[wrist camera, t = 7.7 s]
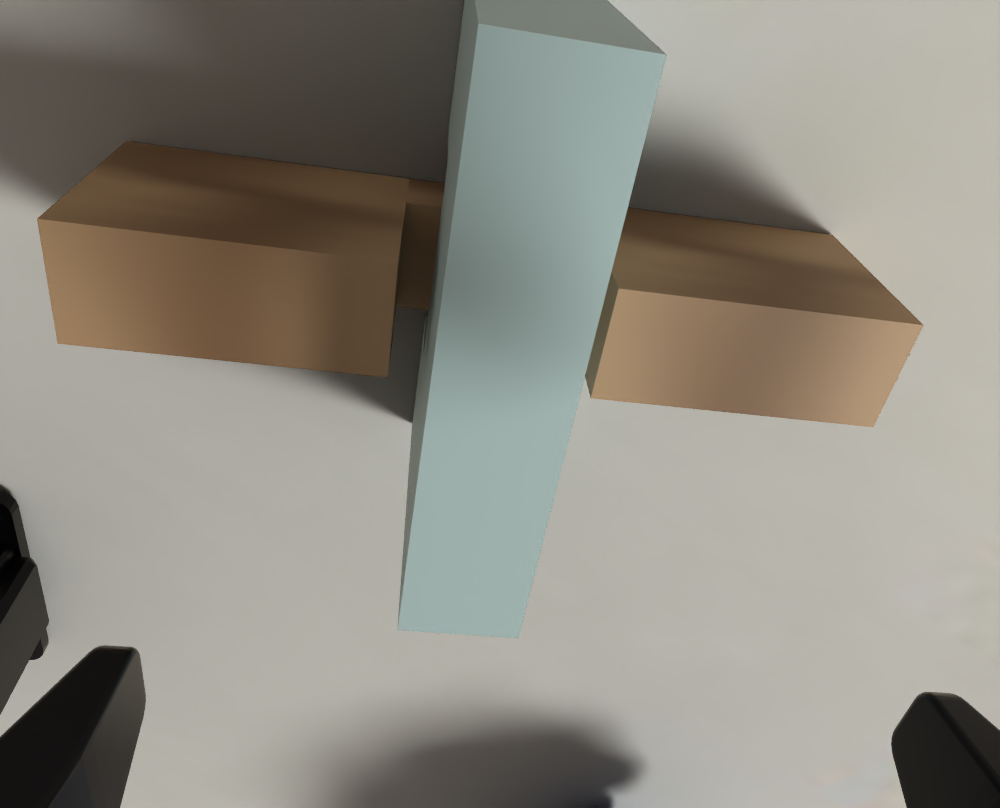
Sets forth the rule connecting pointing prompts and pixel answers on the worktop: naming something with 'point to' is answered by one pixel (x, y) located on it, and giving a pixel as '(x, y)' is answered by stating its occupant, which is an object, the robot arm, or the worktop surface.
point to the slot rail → (409, 275)
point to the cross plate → (516, 294)
